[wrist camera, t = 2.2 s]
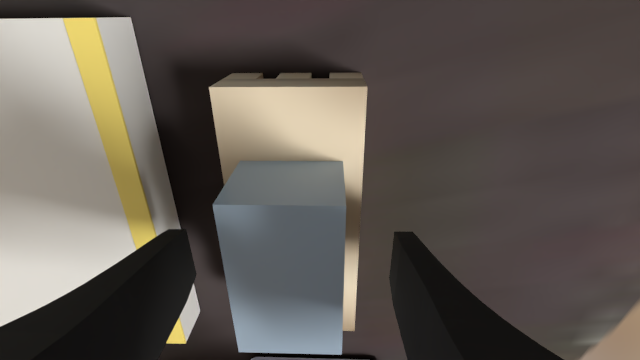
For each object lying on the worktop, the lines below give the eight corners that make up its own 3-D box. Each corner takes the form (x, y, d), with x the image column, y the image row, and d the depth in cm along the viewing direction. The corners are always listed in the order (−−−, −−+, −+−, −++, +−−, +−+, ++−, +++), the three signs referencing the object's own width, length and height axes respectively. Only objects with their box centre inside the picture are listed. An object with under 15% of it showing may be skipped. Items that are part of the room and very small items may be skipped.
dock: (200, 310, 19) (185, 343, 17) (-4, 306, 19) (-40, 338, 17) (130, 17, 12) (93, 17, 10) (-180, 20, 13) (-269, 21, 11)
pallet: (351, 283, 18) (354, 330, 15) (259, 281, 18) (246, 328, 15) (360, 71, 13) (367, 86, 10) (233, 72, 13) (208, 86, 11)
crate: (340, 290, 14) (341, 354, 12) (256, 288, 14) (238, 352, 12) (343, 161, 12) (345, 205, 9) (240, 160, 12) (212, 204, 9)
